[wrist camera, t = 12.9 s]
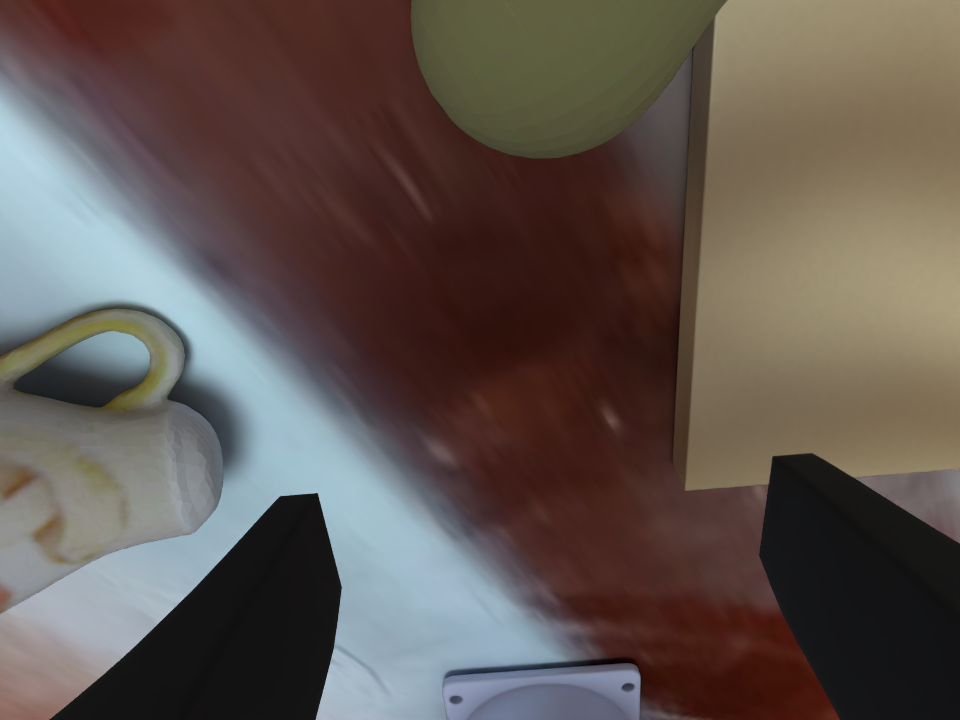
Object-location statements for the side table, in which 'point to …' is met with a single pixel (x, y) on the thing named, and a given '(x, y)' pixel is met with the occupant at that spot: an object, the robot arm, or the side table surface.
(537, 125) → the light bulb
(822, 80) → the maple board
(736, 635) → the side table surface
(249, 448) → the side table surface
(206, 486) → the mug
